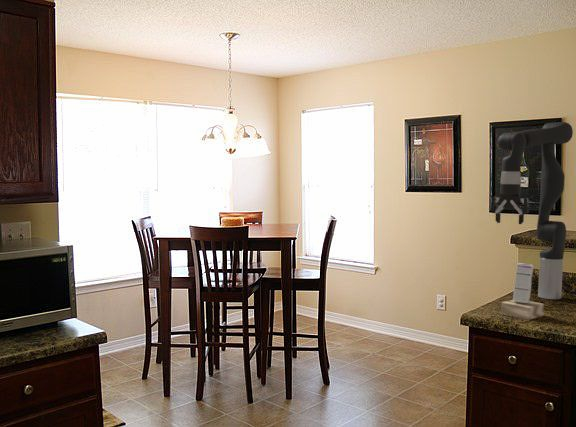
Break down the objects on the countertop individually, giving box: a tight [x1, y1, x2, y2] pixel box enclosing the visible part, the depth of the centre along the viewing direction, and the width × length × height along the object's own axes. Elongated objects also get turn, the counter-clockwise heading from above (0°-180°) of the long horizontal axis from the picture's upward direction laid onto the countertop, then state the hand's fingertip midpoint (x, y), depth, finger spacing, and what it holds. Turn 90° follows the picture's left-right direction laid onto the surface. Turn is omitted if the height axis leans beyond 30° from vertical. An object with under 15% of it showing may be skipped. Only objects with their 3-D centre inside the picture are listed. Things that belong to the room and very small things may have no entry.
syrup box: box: [512, 262, 534, 303], centre depth 221 cm, size 6×6×14 cm
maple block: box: [500, 299, 545, 321], centre depth 221 cm, size 11×11×5 cm
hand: (509, 223), depth 233 cm, fingers open, 8 cm apart
